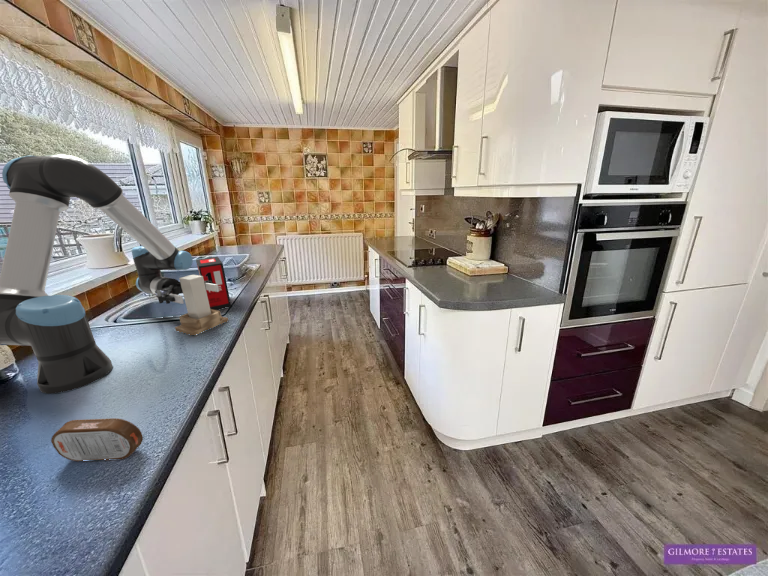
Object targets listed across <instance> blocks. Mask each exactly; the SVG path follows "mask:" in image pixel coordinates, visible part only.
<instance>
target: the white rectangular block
mask: <svg viewBox="0 0 768 576" xmlns="http://www.w3.org/2000/svg"><path fill="white" fill-rule="evenodd" d="M179 282H180V283H181V287H182V291H183V293H182V294H183V295H182V296H183V300H184V304H185V308H186V311H187V313H188V315H189V317H190V318H194V319H197V320H198V319H200V318H203V317H205V316H208V315H210V314H211V310H210V306H209V301H208V297H207V292H206V288H205V283H204V279H203V276H199V274H189V275H186V276H183V277H179Z"/></svg>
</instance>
